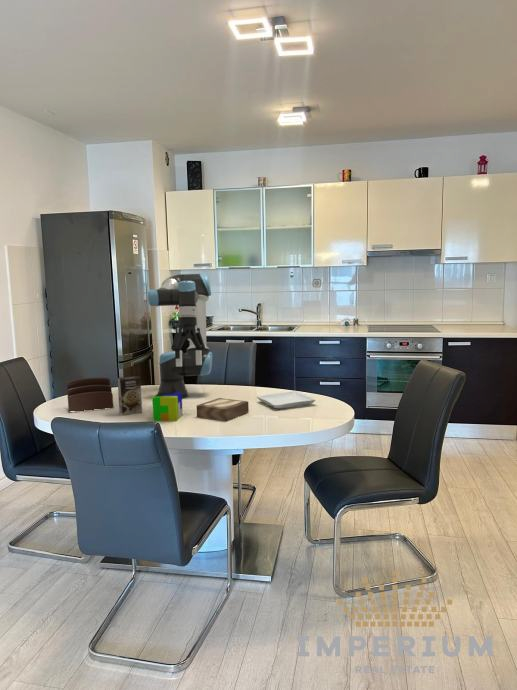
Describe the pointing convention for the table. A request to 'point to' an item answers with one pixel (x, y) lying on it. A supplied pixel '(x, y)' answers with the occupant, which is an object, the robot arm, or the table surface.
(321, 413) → the table surface
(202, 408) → the plinth
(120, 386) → the coffee box
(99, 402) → the letter holder
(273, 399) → the salad plate
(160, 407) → the puzzle toy
